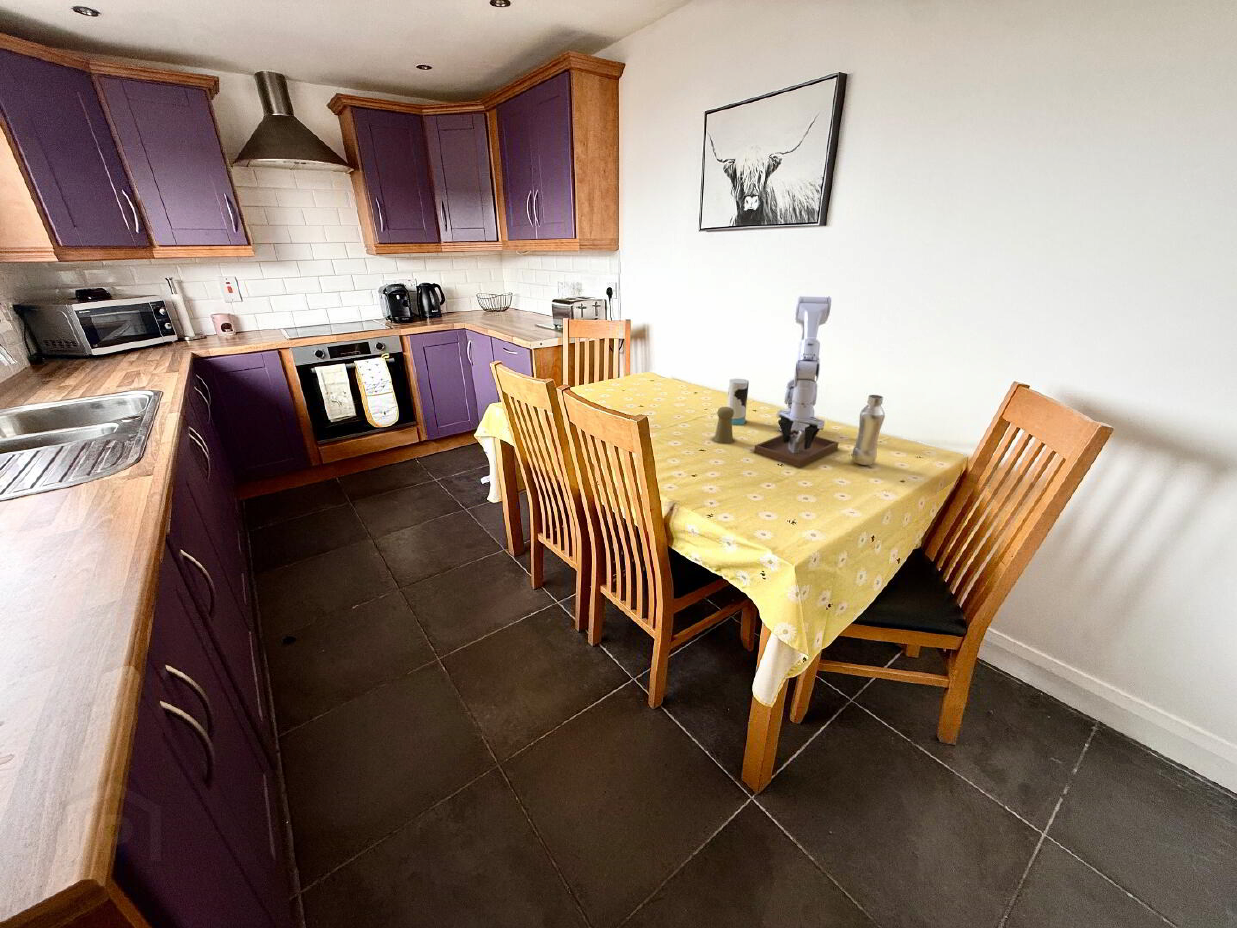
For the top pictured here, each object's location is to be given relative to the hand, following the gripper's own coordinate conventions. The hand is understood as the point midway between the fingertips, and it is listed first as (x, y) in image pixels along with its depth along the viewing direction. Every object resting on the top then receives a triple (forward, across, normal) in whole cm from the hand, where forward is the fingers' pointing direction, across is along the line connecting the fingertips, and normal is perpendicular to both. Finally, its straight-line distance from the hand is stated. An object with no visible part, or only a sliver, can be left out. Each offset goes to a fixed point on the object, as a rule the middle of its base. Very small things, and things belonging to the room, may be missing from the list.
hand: (796, 445), depth 151 cm
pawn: (+3, -22, -7) cm, 23 cm away
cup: (+3, -31, +11) cm, 33 cm away
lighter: (+3, 0, 0) cm, 3 cm away
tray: (+3, -1, +2) cm, 4 cm away
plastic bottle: (+3, +17, +8) cm, 19 cm away
